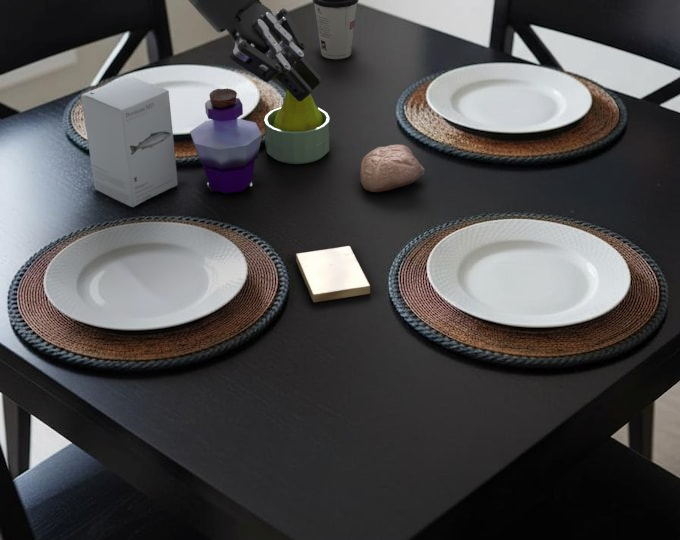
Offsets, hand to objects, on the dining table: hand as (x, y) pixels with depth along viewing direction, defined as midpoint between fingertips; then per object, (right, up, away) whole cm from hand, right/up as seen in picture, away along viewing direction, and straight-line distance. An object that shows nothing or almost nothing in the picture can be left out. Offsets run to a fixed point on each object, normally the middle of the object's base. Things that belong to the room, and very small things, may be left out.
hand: (311, 91), depth 129 cm
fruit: (-2, -7, +5) cm, 9 cm away
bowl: (-2, -7, +5) cm, 9 cm away
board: (+3, -23, -19) cm, 30 cm away
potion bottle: (-10, -12, -2) cm, 15 cm away
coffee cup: (+3, +11, +33) cm, 35 cm away
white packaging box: (-21, -12, -3) cm, 25 cm away
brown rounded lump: (+10, -12, -2) cm, 15 cm away
